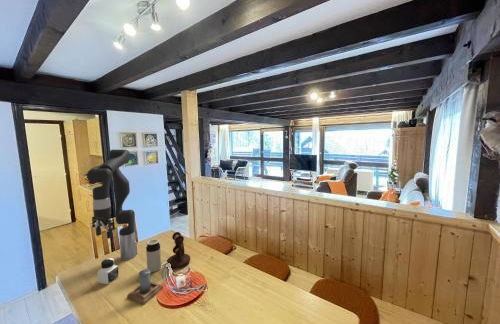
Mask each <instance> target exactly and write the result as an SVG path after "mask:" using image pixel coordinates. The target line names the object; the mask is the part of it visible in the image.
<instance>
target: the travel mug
mask: <svg viewBox="0 0 500 324" xmlns="http://www.w3.org/2000/svg"><path fill="white" fill-rule="evenodd" d="M145 243H146V247H145V250H146V251H145V252H146V269H150V270H151V273H154V272H157V271H159V270H160V269H161V268H162V258H161V244H160V239H159V238H152V239H149V240H147V241H146V242H145Z"/></svg>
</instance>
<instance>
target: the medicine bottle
mask: <svg viewBox="0 0 500 324" xmlns="http://www.w3.org/2000/svg"><path fill="white" fill-rule="evenodd" d="M100 265H101V267H100V269H99V270H97V279H98V280H97V281H98V284H103V285H104V284H105V285H110V284H111V283H113V282H114V281H115V280H116V279H118V278H119V274H120V273H119V265H116V264H115V259H114V258H111V257H109V258H105V259H103V260H102V261H101V264H100Z"/></svg>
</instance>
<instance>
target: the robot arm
mask: <svg viewBox="0 0 500 324" xmlns="http://www.w3.org/2000/svg"><path fill="white" fill-rule="evenodd" d="M130 160H131V153H130V151H129V150H128V149H118V148H117V149H110V150H109V152H108V160H106V161H103V163H102V164H100V165H97V166H94V167H92V168H90V169H89V170H88V171H87V172H86V179H87V181H89V182H90V183H102V184H101V185H100V186H95V187H94V188H93V189H92V211H93V216H91V224H92V225H91V227H92V228H94V229H95V235H96V237H99V236H101V235H102V228H103V229H105V231H106V239H111V238H112V237H113V231H114V230H116V227H115V226H116V225H117V224H118V225H127V226H124V227H122V228H120V229H119V230H118V231H119V232H118V234H119V235H118V236H119V249H120V250H119V251H120V260H122V261H128V260H132V259H133V258H135V257H136V256H137V255H138V243H137V241H136V233H135V231H136V230H135V229H136V228H135V226H136V222H135V219H136V217H135V216H136V214H135V211H134V210H133V209H124V210H123V205H124V202H126V199H127V197H128V196H129V194H130V191H131V189H130V181H129V179H128V178H127V177H126V176H125V175H124V174H123V173H122V171H121V170H120V168H121V167H122V166H124V165H126V164H128V163H129V162H130ZM111 181H112V188H113V196H114V208H115V210H114V213H115V218H110V215H112V208H111V207H112V204H111V197H110V187H111ZM115 222H116V225H115Z"/></svg>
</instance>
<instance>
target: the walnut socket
mask: <svg viewBox="0 0 500 324" xmlns="http://www.w3.org/2000/svg"><path fill="white" fill-rule="evenodd" d="M150 284H151V290H150V291H149V292H147V293H140V284H138V286H137V287H135V288H134V289H132V290H131V291H130V292H129V293H128V294H127V295H126V296H127V298H128V299H130V300H133V301H135V302H138V303H140V304H142V305H146V304H147V303H148V302H149V301H150V300H152V299H153V298H154V297H155V296H156V295H157V294H159V293H160V292H161V291H162V290H163V289H164V285H161V284H159V283H156V282H153V281H150ZM162 288H163V289H162ZM161 289H162V290H161ZM160 290H161V291H160ZM159 291H160V292H159ZM158 292H159V293H158Z"/></svg>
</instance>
